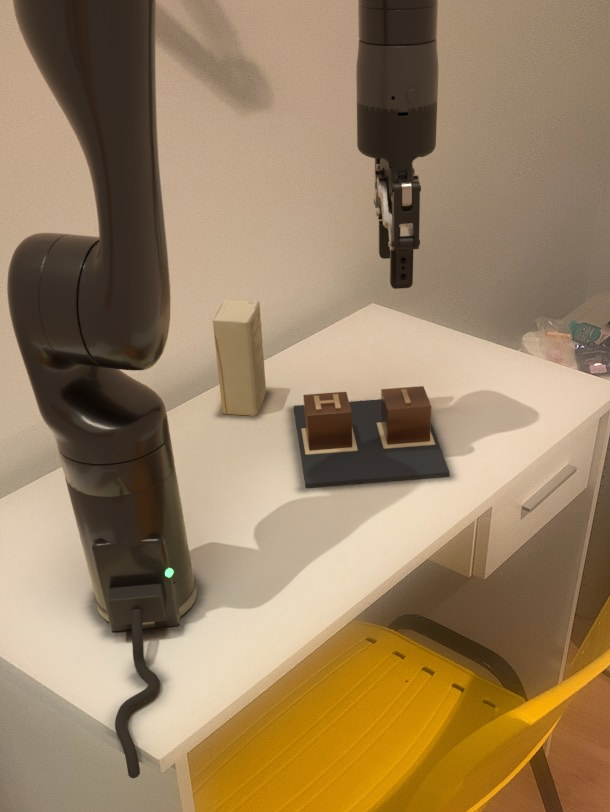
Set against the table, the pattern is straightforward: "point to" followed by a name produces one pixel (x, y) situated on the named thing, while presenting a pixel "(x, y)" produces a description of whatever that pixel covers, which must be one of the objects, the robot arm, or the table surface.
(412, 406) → the brown letter i block
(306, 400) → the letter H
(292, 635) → the table surface
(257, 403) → the cosmetic box
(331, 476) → the word mat
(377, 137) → the robot arm
